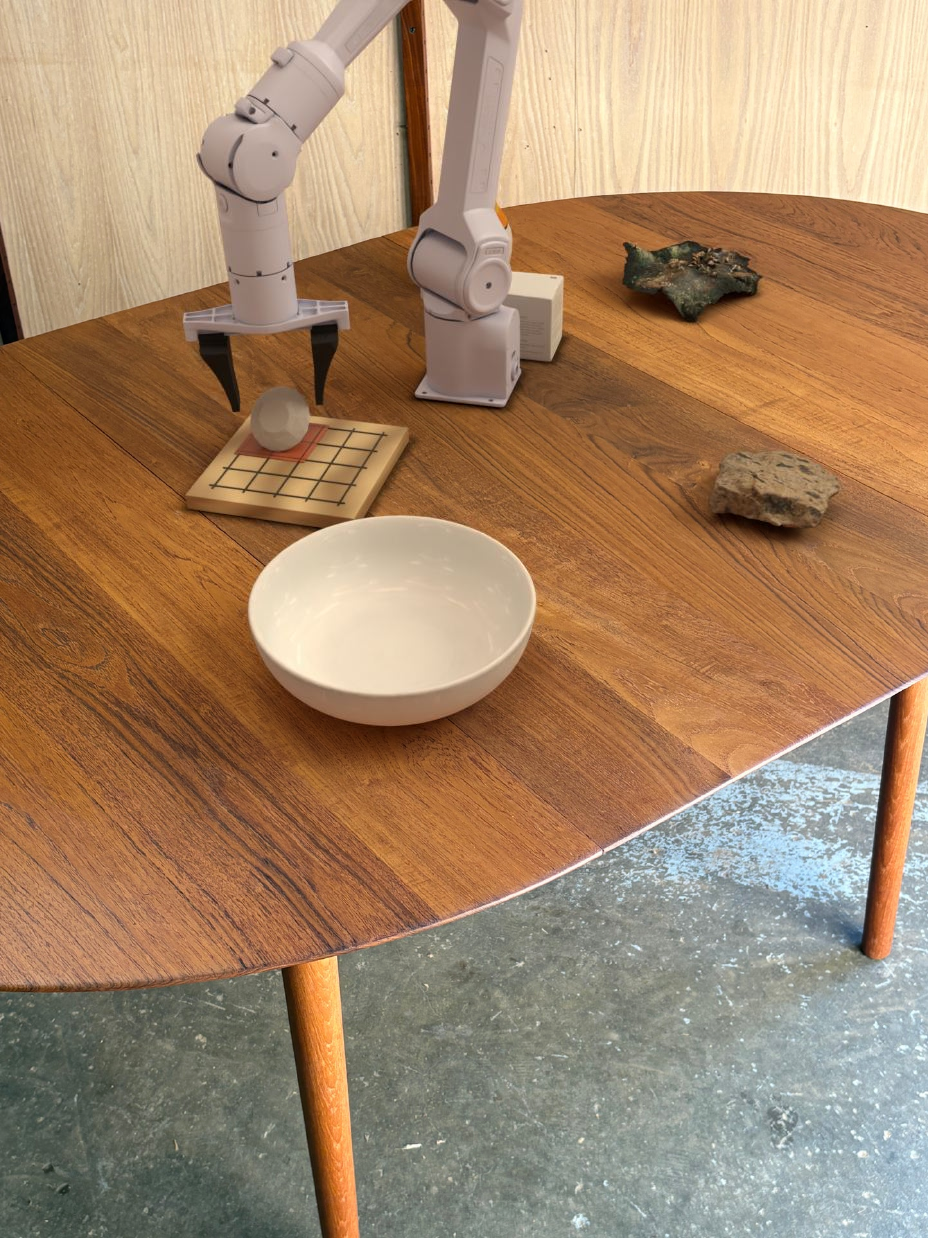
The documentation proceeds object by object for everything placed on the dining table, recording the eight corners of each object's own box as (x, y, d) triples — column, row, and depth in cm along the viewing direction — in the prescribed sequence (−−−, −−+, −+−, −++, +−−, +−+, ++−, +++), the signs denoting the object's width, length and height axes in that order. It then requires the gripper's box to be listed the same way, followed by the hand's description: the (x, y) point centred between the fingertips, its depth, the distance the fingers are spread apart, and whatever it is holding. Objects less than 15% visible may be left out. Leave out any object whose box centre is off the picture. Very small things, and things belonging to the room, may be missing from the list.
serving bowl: (309, 802, 82) (298, 728, 78) (228, 624, 97) (215, 553, 93) (583, 713, 88) (587, 639, 84) (467, 558, 103) (466, 489, 99)
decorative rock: (669, 213, 152) (785, 227, 145) (667, 262, 155) (780, 278, 148) (598, 256, 139) (722, 273, 132) (597, 308, 142) (718, 328, 135)
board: (409, 440, 118) (408, 426, 117) (355, 532, 106) (353, 517, 105) (256, 421, 122) (254, 407, 121) (187, 508, 110) (184, 494, 109)
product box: (509, 332, 136) (509, 269, 132) (563, 337, 135) (565, 274, 130) (496, 356, 132) (495, 292, 127) (551, 362, 130) (553, 298, 126)
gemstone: (327, 393, 117) (305, 382, 112) (325, 457, 117) (303, 448, 112) (269, 395, 119) (245, 384, 114) (267, 458, 119) (243, 450, 114)
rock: (848, 485, 110) (857, 444, 108) (817, 550, 103) (825, 507, 100) (735, 460, 114) (740, 420, 112) (697, 520, 107) (701, 479, 104)
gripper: (341, 239, 109) (353, 376, 117) (177, 251, 108) (201, 389, 116) (345, 271, 103) (357, 413, 112) (172, 284, 102) (198, 426, 111)
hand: (278, 403), depth 114 cm, fingers open, 7 cm apart
